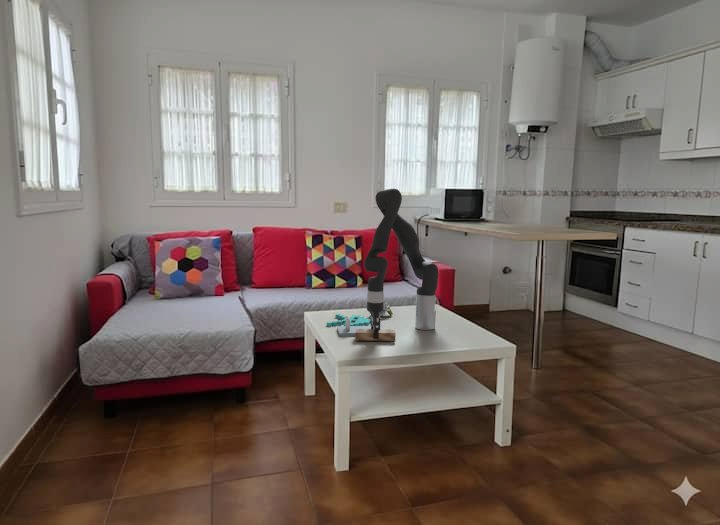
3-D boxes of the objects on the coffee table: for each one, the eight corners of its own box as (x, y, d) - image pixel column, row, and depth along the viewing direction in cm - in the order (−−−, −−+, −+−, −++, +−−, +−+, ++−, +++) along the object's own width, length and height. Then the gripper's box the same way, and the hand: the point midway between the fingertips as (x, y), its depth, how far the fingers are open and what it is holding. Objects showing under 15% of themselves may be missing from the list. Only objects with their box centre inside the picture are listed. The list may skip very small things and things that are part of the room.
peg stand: (381, 328, 241) (381, 313, 240) (386, 335, 229) (386, 319, 228) (337, 329, 238) (337, 314, 237) (339, 336, 226) (339, 320, 225)
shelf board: (394, 336, 224) (394, 329, 223) (395, 340, 218) (395, 333, 217) (355, 336, 224) (355, 329, 223) (355, 340, 218) (355, 332, 217)
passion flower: (378, 327, 263) (366, 310, 260) (378, 319, 273) (366, 302, 270) (396, 317, 261) (383, 300, 258) (395, 309, 271) (383, 292, 268)
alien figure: (326, 327, 243) (365, 330, 239) (326, 323, 243) (365, 325, 239) (336, 317, 262) (372, 320, 258) (336, 313, 262) (372, 316, 258)
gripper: (386, 303, 212) (385, 340, 214) (380, 296, 226) (379, 331, 228) (369, 304, 211) (369, 341, 213) (364, 297, 225) (364, 332, 227)
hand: (374, 336), depth 221 cm, fingers closed on shelf board, 6 cm apart
